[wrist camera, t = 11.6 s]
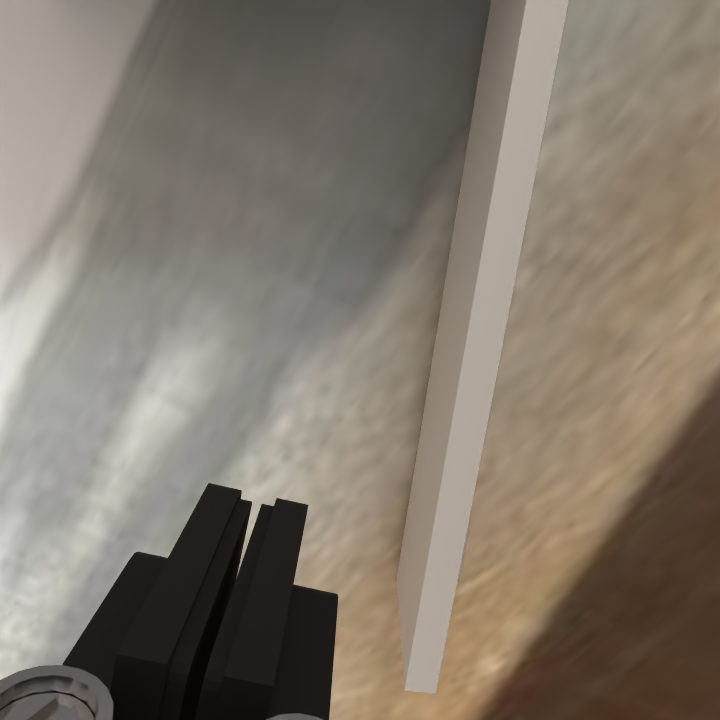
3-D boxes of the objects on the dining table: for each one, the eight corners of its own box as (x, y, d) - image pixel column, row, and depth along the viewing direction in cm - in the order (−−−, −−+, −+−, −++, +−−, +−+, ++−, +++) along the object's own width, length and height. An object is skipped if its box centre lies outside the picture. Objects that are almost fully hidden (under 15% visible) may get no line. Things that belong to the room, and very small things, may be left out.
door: (492, -7, 25) (541, -85, 18) (543, 0, 25) (612, -74, 18) (396, 579, 31) (404, 690, 24) (436, 584, 31) (456, 696, 24)
